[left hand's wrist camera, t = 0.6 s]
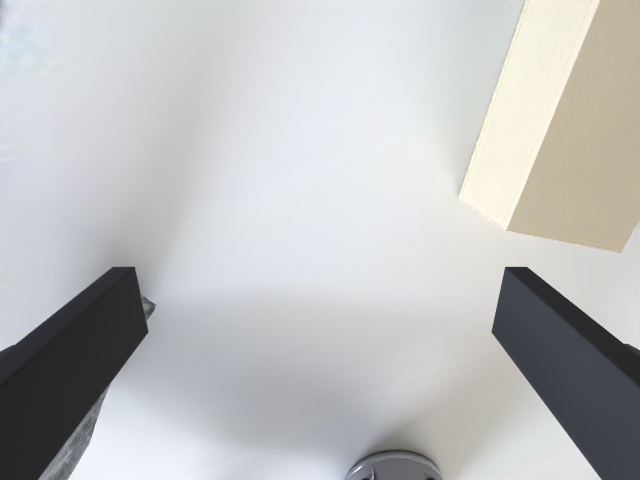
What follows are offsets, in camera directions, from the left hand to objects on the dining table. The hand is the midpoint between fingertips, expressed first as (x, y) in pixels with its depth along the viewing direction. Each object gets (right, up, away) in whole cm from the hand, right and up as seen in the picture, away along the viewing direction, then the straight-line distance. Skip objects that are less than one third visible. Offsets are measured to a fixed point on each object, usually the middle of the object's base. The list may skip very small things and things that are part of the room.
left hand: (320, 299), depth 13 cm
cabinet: (+22, +15, +23) cm, 35 cm away
